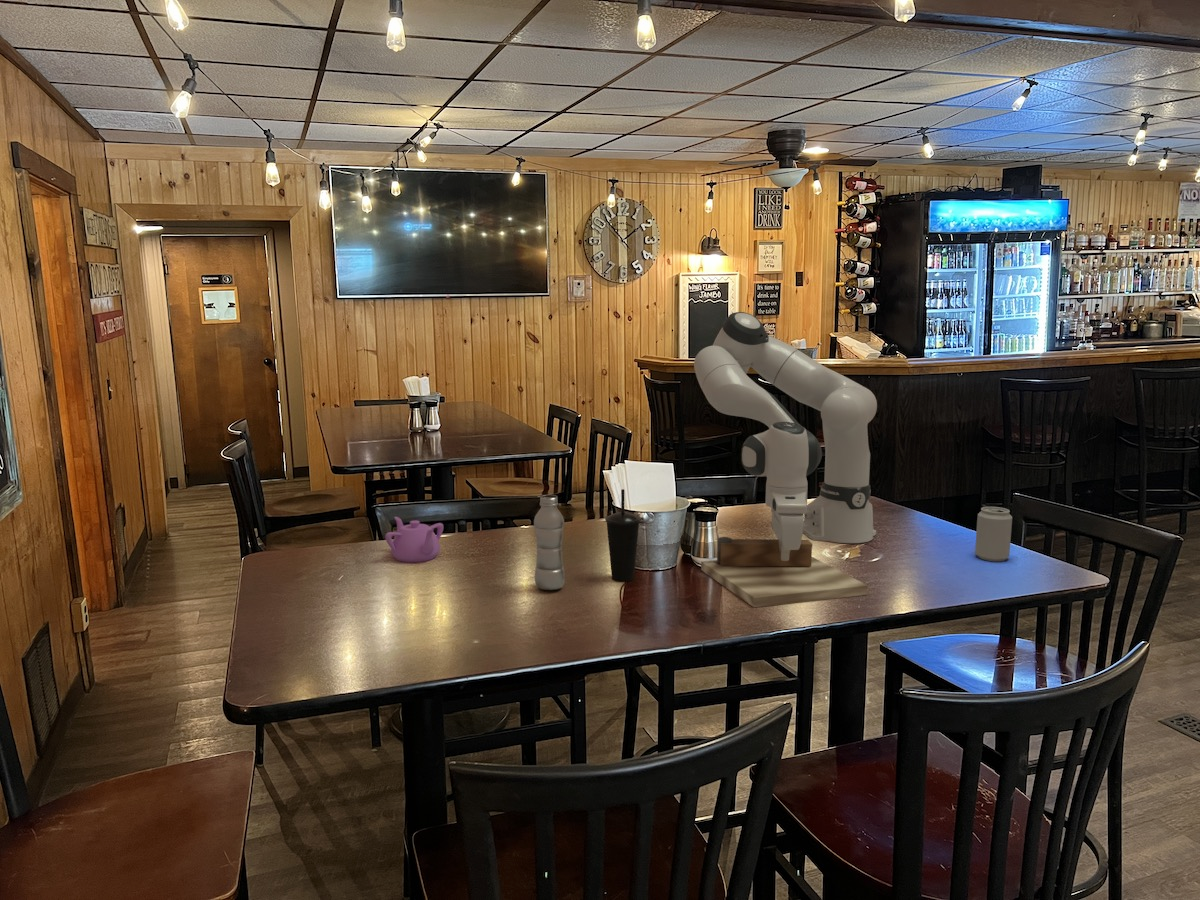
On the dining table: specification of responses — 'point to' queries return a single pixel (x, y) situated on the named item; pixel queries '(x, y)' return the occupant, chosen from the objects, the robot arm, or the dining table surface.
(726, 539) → the walnut leg
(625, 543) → the drinking cup
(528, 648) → the dining table surface
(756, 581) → the stool seat
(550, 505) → the plastic bottle
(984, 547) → the can
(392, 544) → the teapot
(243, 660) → the dining table surface
